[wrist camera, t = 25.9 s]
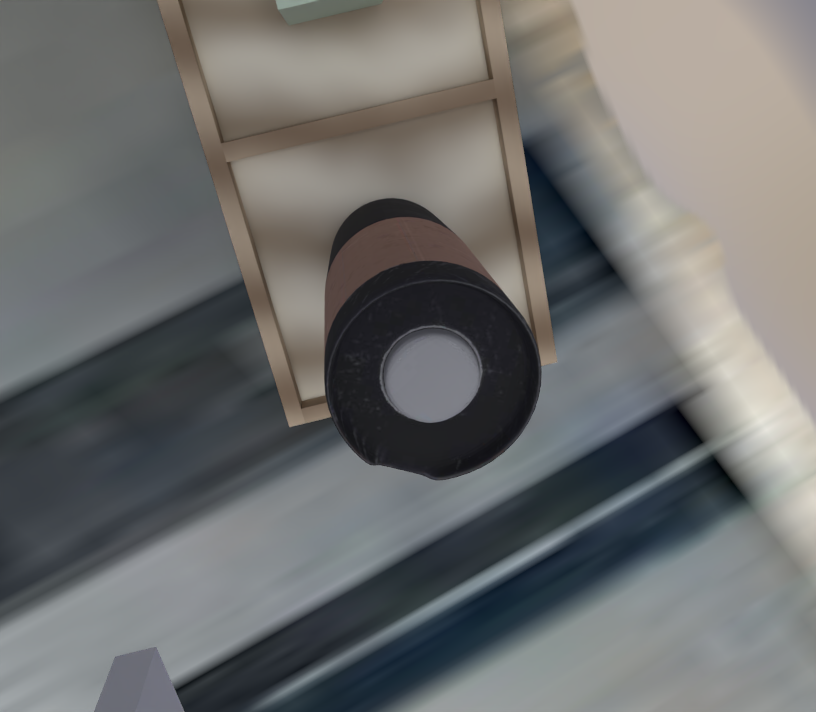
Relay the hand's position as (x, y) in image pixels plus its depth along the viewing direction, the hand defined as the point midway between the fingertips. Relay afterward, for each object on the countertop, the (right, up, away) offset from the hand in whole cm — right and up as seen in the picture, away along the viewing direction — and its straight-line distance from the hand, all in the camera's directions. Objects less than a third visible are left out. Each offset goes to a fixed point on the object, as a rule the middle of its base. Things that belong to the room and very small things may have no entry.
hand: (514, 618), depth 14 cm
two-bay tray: (-5, +18, +28) cm, 34 cm away
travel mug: (-3, +11, +30) cm, 32 cm away
